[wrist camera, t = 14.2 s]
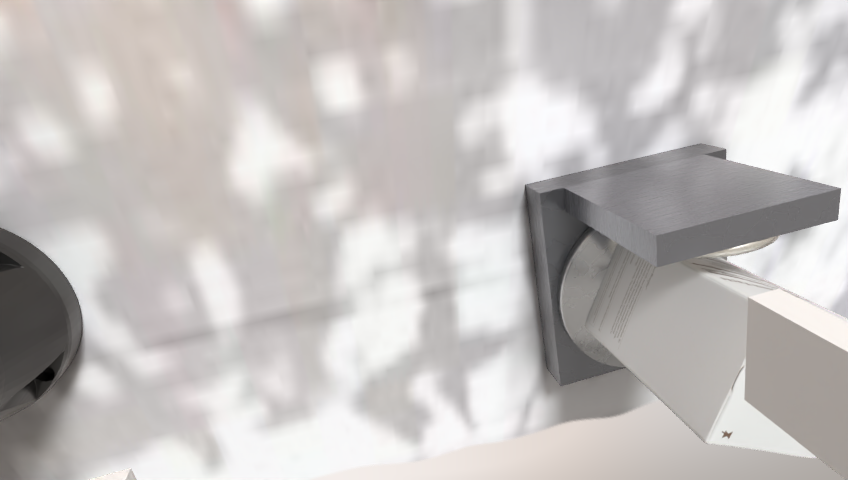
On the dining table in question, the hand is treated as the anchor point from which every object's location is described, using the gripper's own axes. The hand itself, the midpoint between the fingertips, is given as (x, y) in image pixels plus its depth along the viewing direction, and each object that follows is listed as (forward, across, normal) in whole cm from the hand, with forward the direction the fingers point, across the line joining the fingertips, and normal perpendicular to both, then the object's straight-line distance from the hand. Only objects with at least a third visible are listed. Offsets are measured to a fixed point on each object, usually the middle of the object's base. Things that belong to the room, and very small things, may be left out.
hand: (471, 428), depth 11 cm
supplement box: (+28, +21, -15) cm, 38 cm away
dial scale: (+32, +21, -14) cm, 41 cm away
